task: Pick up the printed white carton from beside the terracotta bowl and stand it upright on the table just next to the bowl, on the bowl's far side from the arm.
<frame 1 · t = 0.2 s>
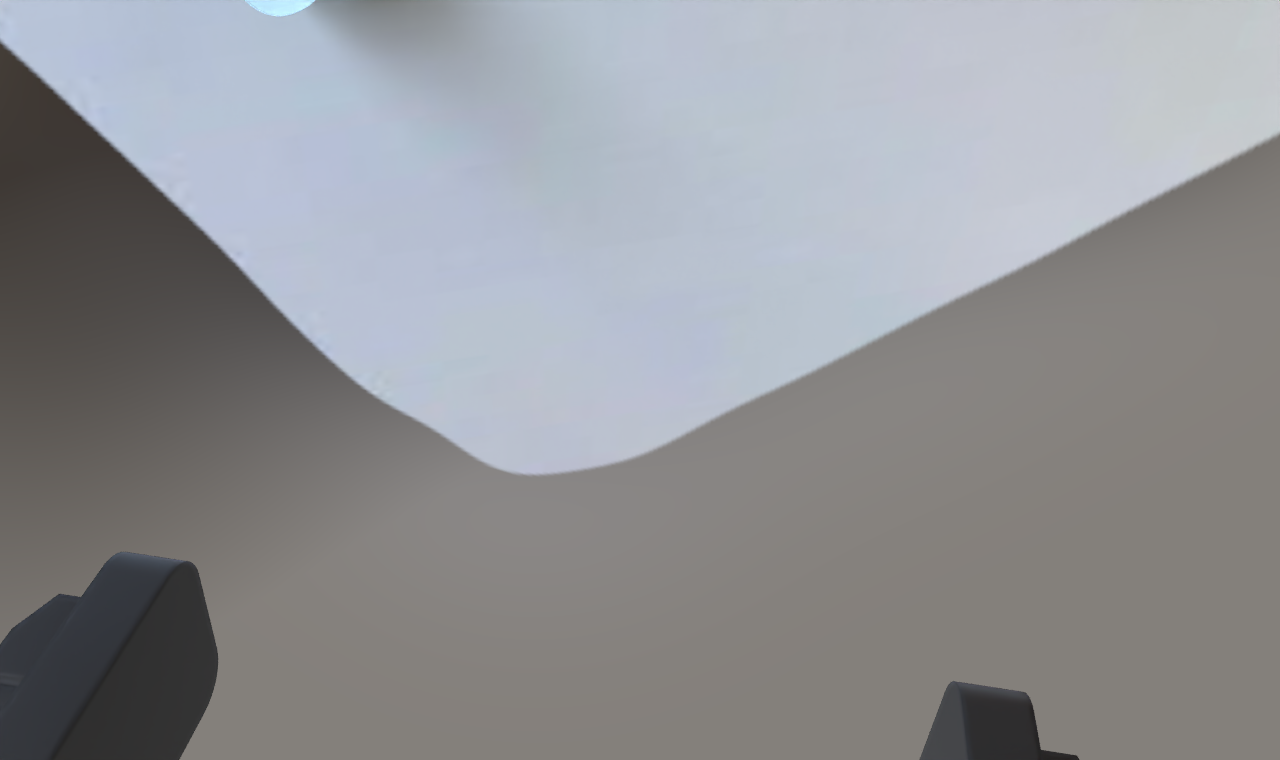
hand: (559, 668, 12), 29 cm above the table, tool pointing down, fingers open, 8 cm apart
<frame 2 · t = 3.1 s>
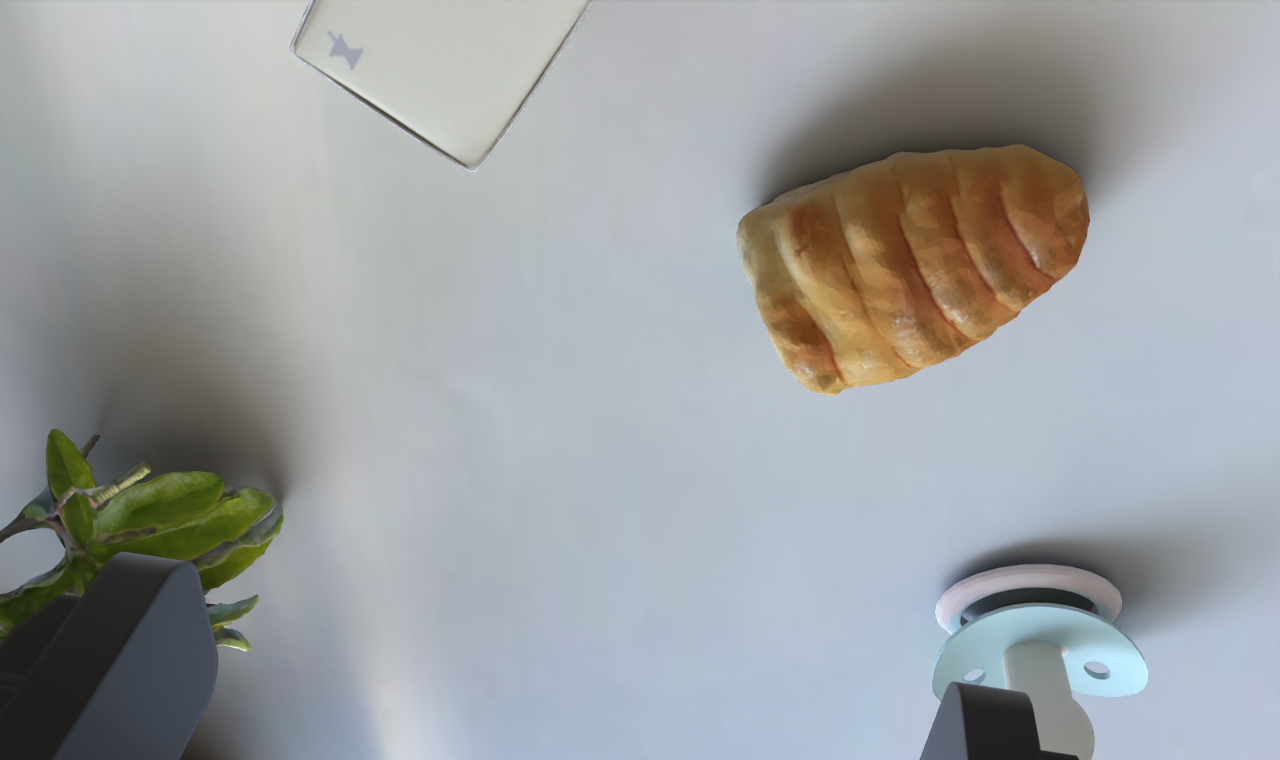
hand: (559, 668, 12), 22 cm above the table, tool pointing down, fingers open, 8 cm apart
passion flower: (149, 504, 45), on the table
pacifier: (1026, 608, 41), on the table
pastry: (889, 236, 33), on the table
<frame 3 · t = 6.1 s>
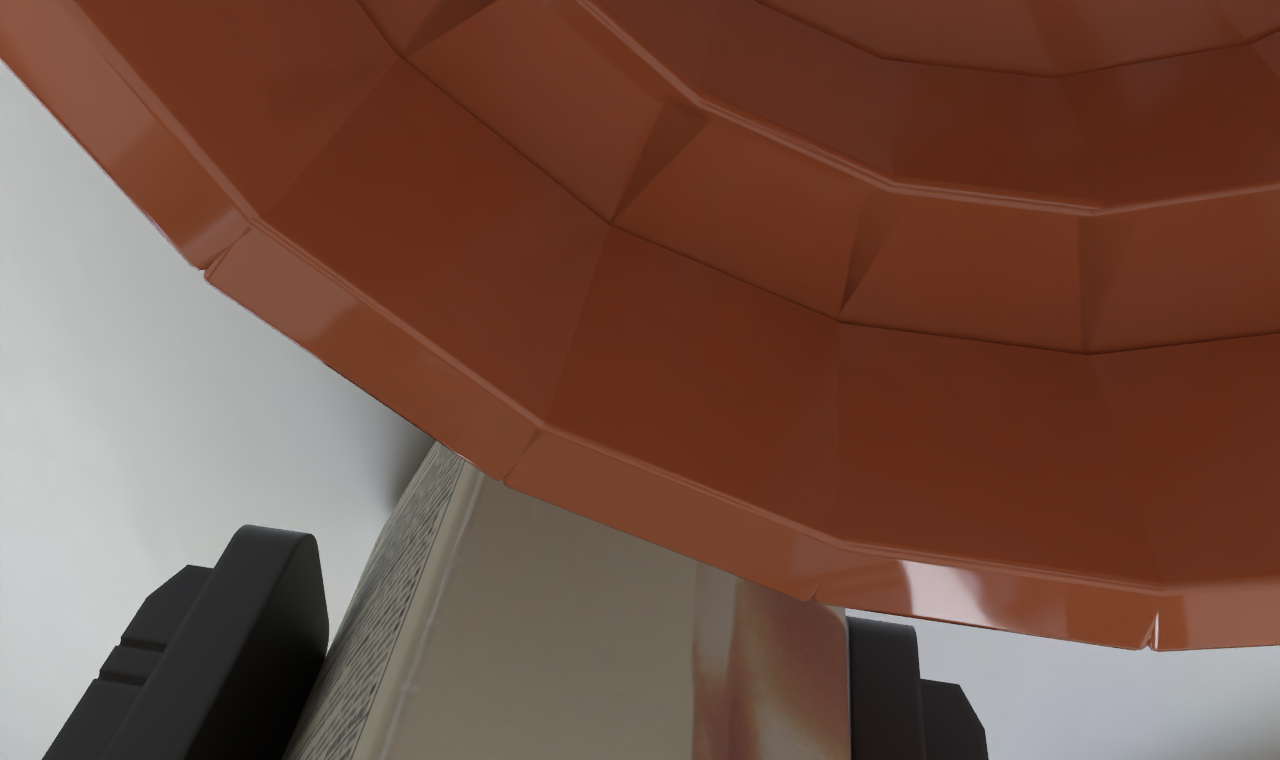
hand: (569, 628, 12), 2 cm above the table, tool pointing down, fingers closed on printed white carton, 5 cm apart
printed white carton: (608, 481, 14), on the table, touching gripper
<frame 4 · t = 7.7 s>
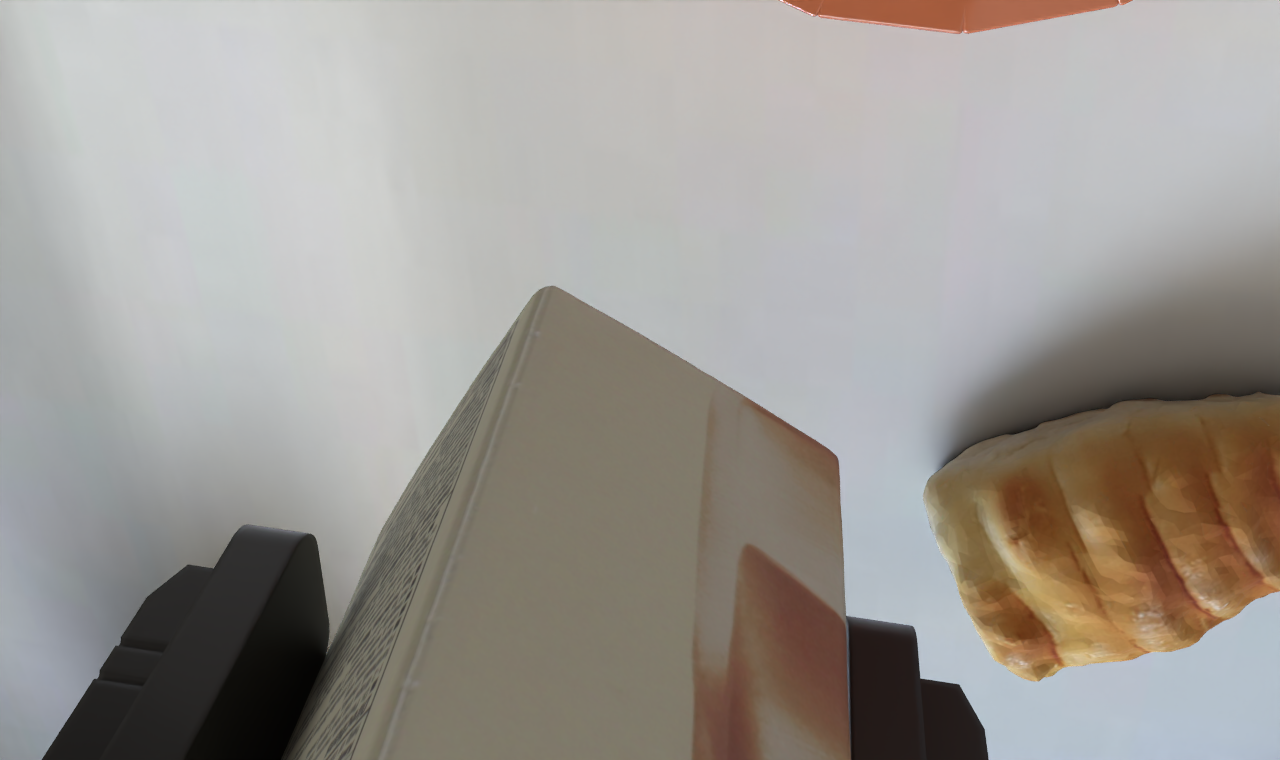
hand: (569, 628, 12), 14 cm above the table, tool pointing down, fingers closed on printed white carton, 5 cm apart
printed white carton: (609, 479, 14), point 11 cm above the table, touching gripper
pastry: (1106, 484, 27), on the table
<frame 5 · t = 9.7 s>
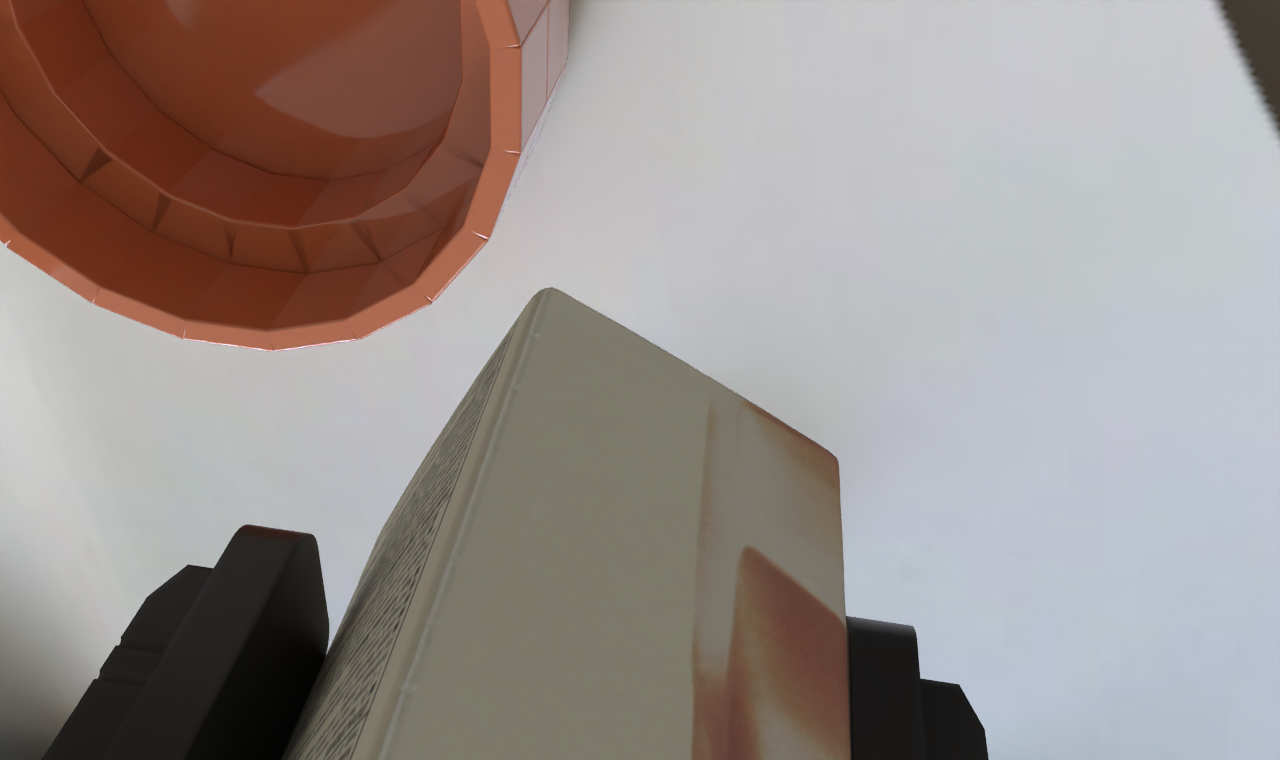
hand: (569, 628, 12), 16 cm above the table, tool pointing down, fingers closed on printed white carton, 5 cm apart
printed white carton: (608, 481, 14), point 14 cm above the table, touching gripper
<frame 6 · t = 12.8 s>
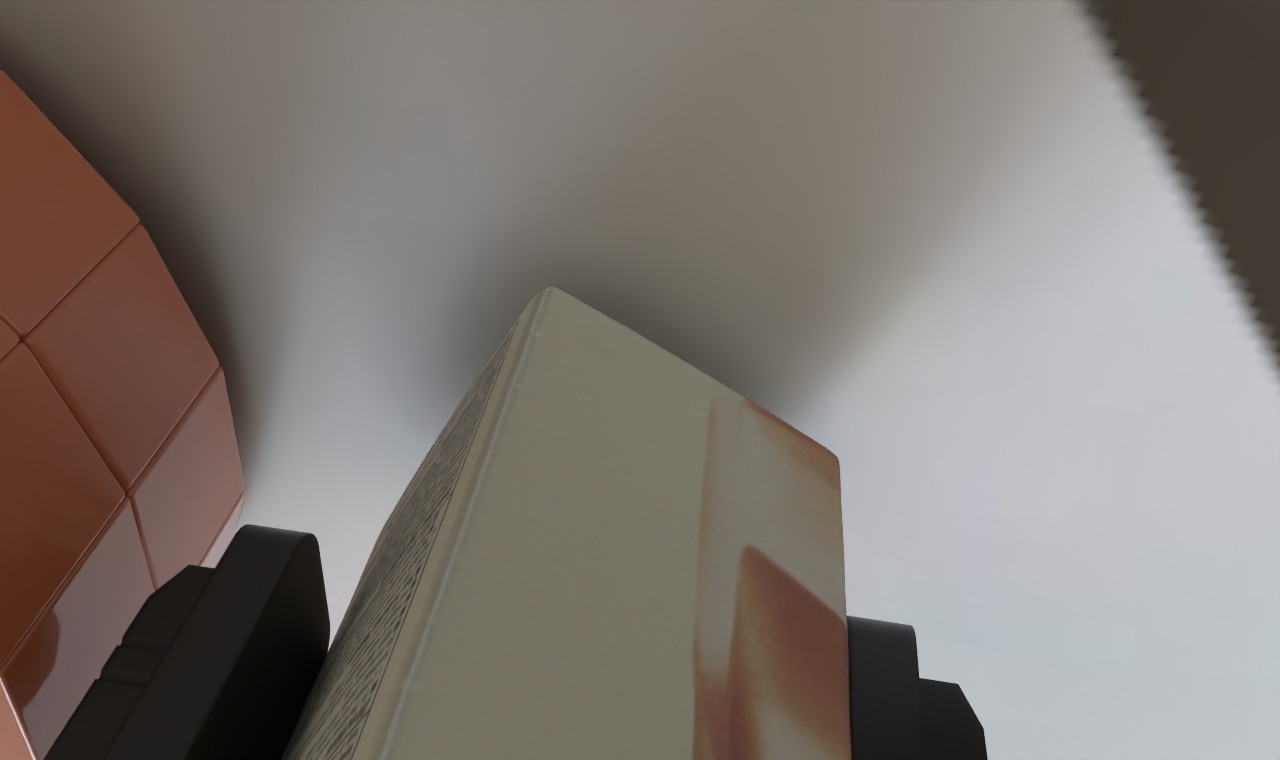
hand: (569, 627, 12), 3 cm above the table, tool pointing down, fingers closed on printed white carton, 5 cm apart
printed white carton: (609, 480, 14), point 1 cm above the table, touching gripper
when the fingers open (2 cm above the table, at t = 13.6 s): printed white carton stays where it is, on the table.
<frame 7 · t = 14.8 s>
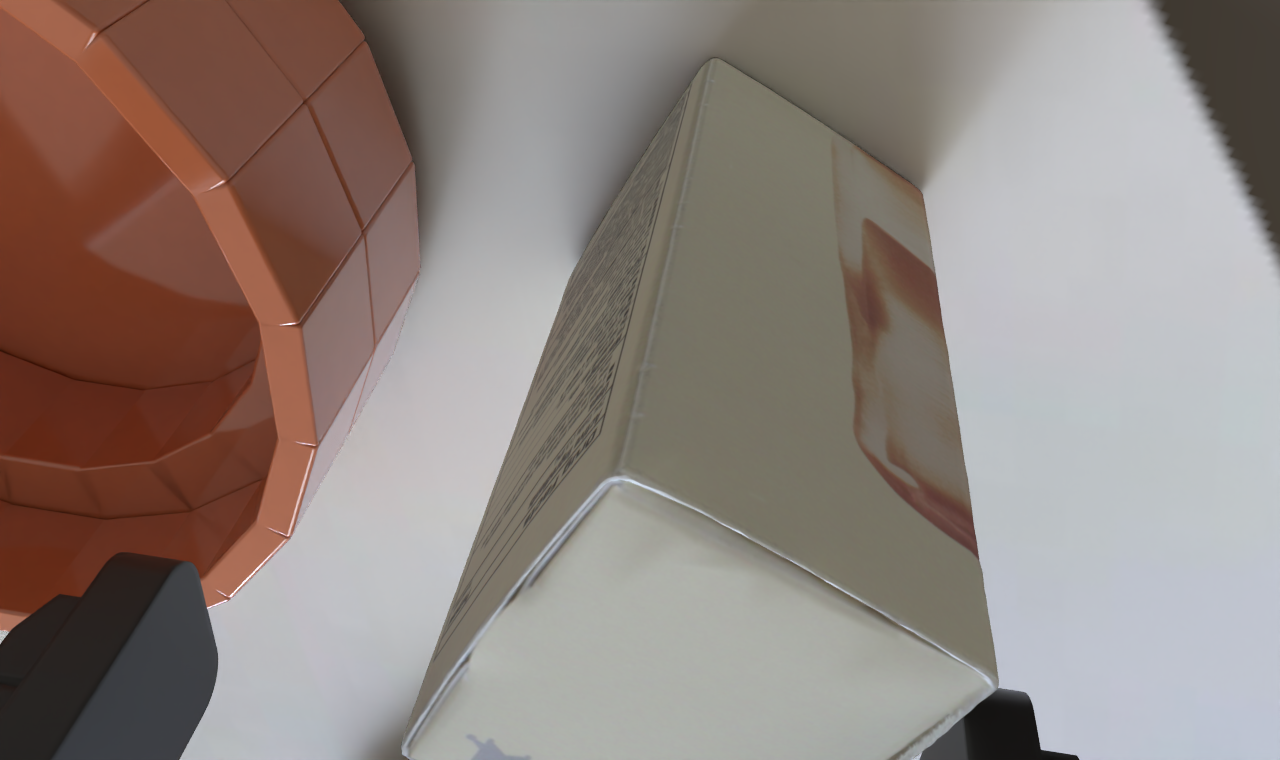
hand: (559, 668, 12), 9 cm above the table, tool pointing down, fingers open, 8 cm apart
printed white carton: (746, 226, 19), on the table, touching gripper
bowl: (70, 150, 20), on the table
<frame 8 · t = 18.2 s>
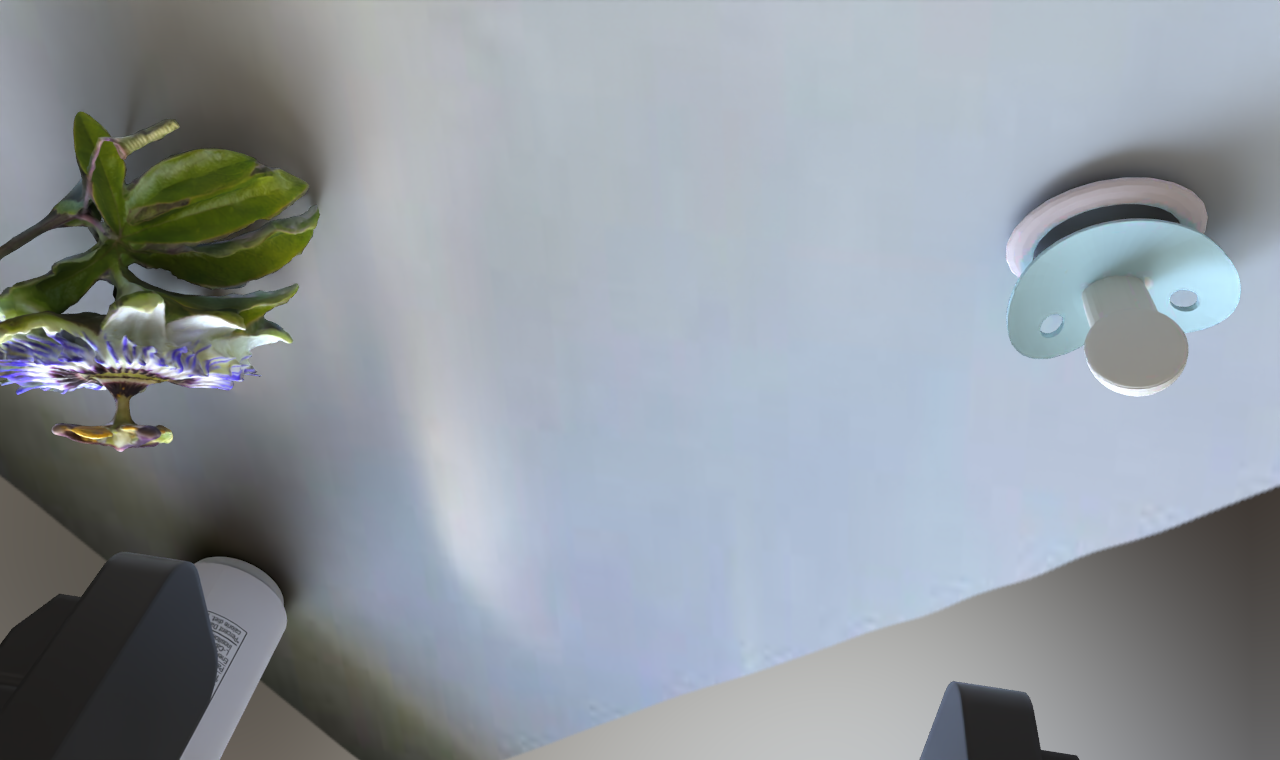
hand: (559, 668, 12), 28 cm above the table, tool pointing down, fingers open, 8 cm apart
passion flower: (183, 224, 44), on the table
energy drink can: (237, 588, 56), on the table
pacifier: (1103, 247, 39), on the table
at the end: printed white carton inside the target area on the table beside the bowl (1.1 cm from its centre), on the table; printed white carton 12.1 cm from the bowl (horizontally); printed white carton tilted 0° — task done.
